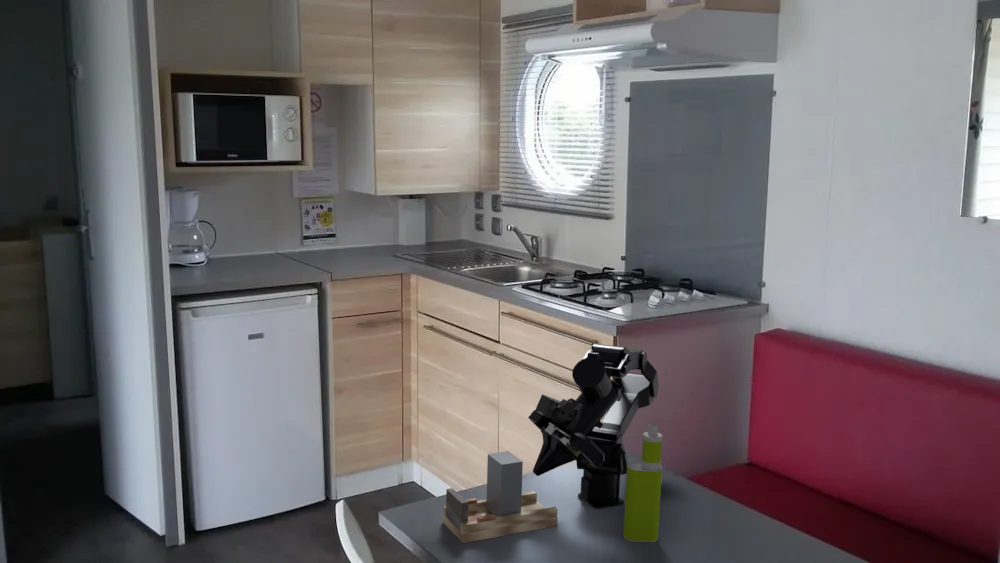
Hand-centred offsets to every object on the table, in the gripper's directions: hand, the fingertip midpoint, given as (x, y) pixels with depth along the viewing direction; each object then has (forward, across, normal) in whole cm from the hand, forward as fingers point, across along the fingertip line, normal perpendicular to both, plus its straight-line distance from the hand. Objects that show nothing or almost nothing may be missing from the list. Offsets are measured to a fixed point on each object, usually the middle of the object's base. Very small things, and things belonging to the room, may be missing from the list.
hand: (534, 474), depth 156 cm
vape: (-4, +14, +15) cm, 21 cm away
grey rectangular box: (+9, 0, 0) cm, 9 cm away
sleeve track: (+10, 0, +1) cm, 11 cm away
